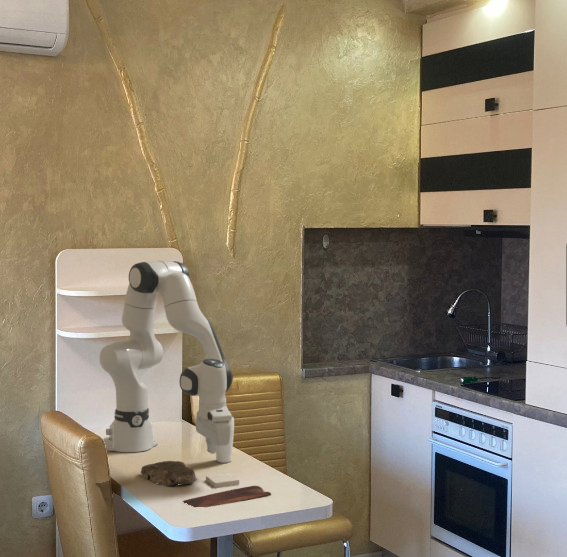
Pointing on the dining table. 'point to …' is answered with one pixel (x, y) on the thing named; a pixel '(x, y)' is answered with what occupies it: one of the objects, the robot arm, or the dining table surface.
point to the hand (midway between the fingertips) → (211, 452)
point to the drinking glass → (226, 447)
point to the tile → (222, 480)
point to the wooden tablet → (228, 497)
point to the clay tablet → (169, 473)
